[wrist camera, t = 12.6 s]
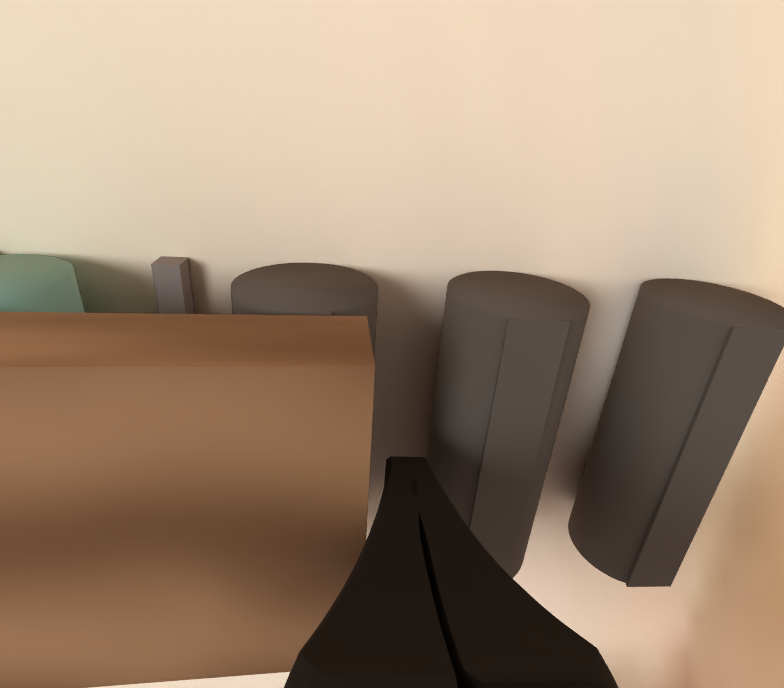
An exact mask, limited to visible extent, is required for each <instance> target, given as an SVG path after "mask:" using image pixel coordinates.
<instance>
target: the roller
mask: <svg viewBox="0 0 784 688" xmlns="http://www.w3.org/2000/svg"><path fill="white" fill-rule="evenodd" d="M0 312H66V313H85V311H84V307H83V303H82V299H81V295H80V291H79V287H78V283H77V279H76V275H75V271H74V267H73V265H72V264H71V263H70V262H68V261H66V260H63V259H60V258H56V257H51V256H43V255H25V254H15V255H0Z"/></svg>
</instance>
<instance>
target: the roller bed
mask: <svg viewBox="0 0 784 688" xmlns="http://www.w3.org/2000/svg"><path fill="white" fill-rule="evenodd" d="M151 267H152V273H153V280H154V286H155V292H156V298H157V304H158V311H159V314H195V310H194V302H193V294H192V286H191V278H190V271H189V263H188V258H183V257H160V258H159V259H157V260H156V261H155V262H153V263H152V264H151ZM377 298H378V286H377V283H376V282H375V281H374V280H373V279H372V278H371V277H369V276H368V275H366V274H364V273H361V272H359V271H356V270H353V269H350V268H346V267H341V266H336V265H329V264H319V263H287V264H277V265H270V266H265V267H261V268H257V269H254V270H250V271H248V272H245V273H243V274H241V275H240V276H238V277H237V278H235V279H234V281H233V282H232V284H231V299H232V310H233V314H234V315H318V316H367V319H368V325H369V332H370V338H371V344H372V350H373V356H374V354H375V335H376V316H377ZM589 308H590V304H589V301H588V300H587V298H586V297H585V296H584V295H582V294H581V293H580V292H578V291H576V290H575V289H573V288H571V287H569V286H566V285H564V284H561V283H559V282H556V281H553V280H549V279H546V278H542V277H538V276H533V275H528V274H522V273H515V272H504V271H480V272H471V273H465V274H462V275H459V276H456V277H454V278H453V279H451V280H450V281H449V283H448V286H447V294H446V302H445V310H444V319H443V327H442V335H441V344H440V352H439V360H438V369H437V377H436V385H435V394H434V402H433V410H432V418H431V427H430V435H429V443H428V452H427V460H428V462H429V465H430V467H431V469H432V470H433V472H434V474H435V476H436V478H437V480H438V481H439V483H440V485H441V487H442V488H443V490H444V492H445V493H446V495H447V497H448V498H449V500H450V501H451V503H452V504H453V506H454V507H455V509H456V510H457V512H458V513H459V515H460V516H461V518H462V519H463V520H464V522H465V523H466V525H467V526H468V527H469V529H470V530H471V531H472V533H473V534H474V535H475V537H476V538H477V539H478V540H479V542H480V543H481V544H482V545H483V547H484V548H485V549H486V550H487V551H488V553H489V554H490V555H491V556H492V557H493V558H494V559H495V560H496V562H497V563H498V564H499V565H500V566H501V567H502V568H503V569H504V570H505V571H506V572H507V573H508V574H509V575H510V577H511V578H513V577H514V576H515V575H516V574H517V573H518V571H519V570H520V568H521V566H522V563H523V559H524V555H525V552H526V548H527V544H528V540H529V536H530V533H531V529H532V525H533V521H534V517H535V514H536V510H537V506H538V502H539V498H540V495H541V491H542V487H543V483H544V479H545V476H546V472H547V468H548V464H549V460H550V456H551V453H552V449H553V445H554V441H555V437H556V434H557V430H558V426H559V422H560V418H561V415H562V411H563V407H564V403H565V399H566V396H567V392H568V388H569V384H570V380H571V377H572V373H573V369H574V365H575V361H576V358H577V354H578V350H579V346H580V342H581V338H582V335H583V331H584V327H585V323H586V319H587V316H588V312H589ZM783 347H784V308H783V307H782V306H780V305H778V304H776V303H774V302H772V301H770V300H767V299H765V298H762V297H760V296H757V295H754V294H751V293H748V292H745V291H741V290H738V289H734V288H730V287H726V286H721V285H717V284H712V283H706V282H700V281H693V280H684V279H654V280H649V281H646V282H644V283H643V284H642V285H641V287H640V290H639V293H638V297H637V300H636V303H635V306H634V310H633V313H632V316H631V319H630V323H629V326H628V329H627V332H626V336H625V339H624V342H623V346H622V349H621V352H620V355H619V359H618V362H617V365H616V368H615V372H614V375H613V378H612V381H611V385H610V388H609V391H608V394H607V398H606V401H605V404H604V408H603V411H602V414H601V417H600V421H599V424H598V427H597V430H596V434H595V437H594V440H593V443H592V447H591V450H590V453H589V456H588V460H587V463H586V466H585V470H584V473H583V476H582V479H581V483H580V486H579V489H578V492H577V496H576V499H575V502H574V505H573V509H572V512H571V515H570V518H569V523H568V529H569V534H570V537H571V540H572V542H573V544H574V545H575V547H576V548H577V550H578V551H579V552H580V554H581V555H582V556H583V557H584V558H585V559H586V560H587V561H588V562H589V563H590V564H592V565H593V566H594V567H596V568H597V569H598V570H600V571H601V572H603V573H605V574H607V575H608V576H610V577H612V578H615V579H617V580H619V581H622V582H625V583H626V585H627V587H656V586H671V584H672V582H673V580H674V578H675V576H676V574H677V571H678V569H679V567H680V565H681V563H682V561H683V559H684V557H685V555H686V552H687V550H688V548H689V546H690V544H691V542H692V540H693V538H694V535H695V533H696V531H697V529H698V527H699V525H700V523H701V521H702V518H703V516H704V514H705V512H706V510H707V508H708V506H709V504H710V501H711V499H712V497H713V495H714V493H715V491H716V489H717V487H718V485H719V482H720V480H721V478H722V476H723V474H724V472H725V470H726V468H727V465H728V463H729V461H730V459H731V457H732V455H733V453H734V451H735V448H736V446H737V444H738V442H739V440H740V438H741V436H742V434H743V431H744V429H745V427H746V425H747V423H748V421H749V419H750V417H751V414H752V412H753V410H754V408H755V406H756V404H757V402H758V400H759V398H760V395H761V393H762V391H763V389H764V387H765V385H766V383H767V381H768V378H769V376H770V374H771V372H772V370H773V368H774V366H775V364H776V361H777V359H778V357H779V355H780V353H781V351H782V349H783Z"/></svg>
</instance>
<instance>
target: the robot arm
mask: <svg viewBox="0 0 784 688" xmlns="http://www.w3.org/2000/svg"><path fill="white" fill-rule="evenodd" d="M284 688H618V686H617V684H616V682H615V679H614V678H613V676H612V674H611V672H610V670H609V668H608V666H607V665H606V663H605V661H604V660H603V658H602V656H601V654H600V653H599V651H598V649H597V648H596V647H595V646H593V645H592V644H591V643H589V642H588V641H587V640H585V639H584V638H583V637H581V636H580V635H578V634H577V633H576V632H574V631H573V630H572V629H570V628H569V627H568V626H566V625H565V624H563V623H562V622H561V621H560V620H558V619H557V618H556V617H555V616H553V615H552V614H551V613H550V612H549V611H547V610H546V609H545V608H544V607H543V606H541V605H540V604H539V603H538V602H537V601H536V600H535V599H534V598H533V597H532V596H530V595H529V594H528V593H527V592H526V591H525V590H524V589H523V588H522V587H521V586H520V585H519V584H518V583H517V582H515V581H514V580H513V579H512V578H511V577H510V575H509V574H508V573H507V572H506V571H505V570H504V569H503V568H502V567H501V566H500V565H499V564H498V563H497V562H496V560H495V559H494V558H493V557H492V556H491V555H490V554H489V553H488V551H487V550H486V549H485V548H484V547H483V545H482V544H481V543H480V542H479V540H478V539H477V538H476V537H475V535H474V534H473V533H472V531H471V530H470V529H469V527H468V526H467V525H466V523H465V522H464V520H463V519H462V518H461V516H460V515H459V513H458V512H457V510H456V509H455V507H454V506H453V504H452V503H451V501H450V500H449V498H448V497H447V495H446V493H445V492H444V490H443V488H442V487H441V485H440V483H439V481H438V480H437V478H436V476H435V474H434V472H433V470H432V469H431V467H430V465H429V462H428V460H427V459H426V458H425V457H398V456H390V457H389V458H388V459H386V469H385V482H384V490H383V494H382V497H381V501H380V504H379V508H378V511H377V514H376V517H375V520H374V522H373V525H372V528H371V530H370V533H369V536H368V538H367V540H366V543H365V545H364V547H363V550H362V552H361V554H360V556H359V558H358V560H357V562H356V564H355V566H354V568H353V570H352V572H351V574H350V576H349V578H348V579H347V581H346V583H345V585H344V587H343V588H342V590H341V592H340V593H339V595H338V597H337V598H336V600H335V601H334V603H333V605H332V606H331V608H330V609H329V611H328V612H327V614H326V616H325V617H324V619H323V620H322V622H321V623H320V625H319V626H318V627H317V629H316V630H315V631H314V633H313V634H312V635H311V637H310V638H309V639H308V641H307V642H306V643H305V645H304V646H303V648H302V649H301V650H300V652H299V653H298V656H297V658H296V660H295V663H294V665H293V667H292V670H291V672H290V674H289V677H288V679H287V682H286V684H285V686H284Z"/></svg>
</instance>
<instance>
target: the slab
mask: <svg viewBox="0 0 784 688" xmlns="http://www.w3.org/2000/svg"><path fill="white" fill-rule="evenodd" d="M374 380H375V363H374V356H373V350H372V344H371V338H370V332H369V325H368V319H367V316H318V315H234V314H150V313H66V312H0V688H88V687H100V686H113V685H126V684H139V683H151V682H164V681H177V680H189V679H202V678H215V677H228V676H240V675H253V674H266V673H278V672H291V670H292V667H293V665H294V663H295V660H296V658H297V656H298V653H299V652H300V650H301V649H302V648H303V646H304V645H305V643H306V642H307V641H308V639H309V638H310V637H311V635H312V634H313V633H314V631H315V630H316V629H317V627H318V626H319V625H320V623H321V622H322V620H323V619H324V617H325V616H326V614H327V612H328V611H329V609H330V608H331V606H332V605H333V603H334V601H335V600H336V598H337V597H338V595H339V593H340V592H341V590H342V588H343V587H344V585H345V583H346V581H347V579H348V578H349V576H350V574H351V572H352V570H353V568H354V566H355V564H356V562H357V560H358V558H359V556H360V554H361V552H362V550H363V547H364V545H365V543H366V532H367V513H368V494H369V475H370V456H371V437H372V418H373V399H374Z"/></svg>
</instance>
